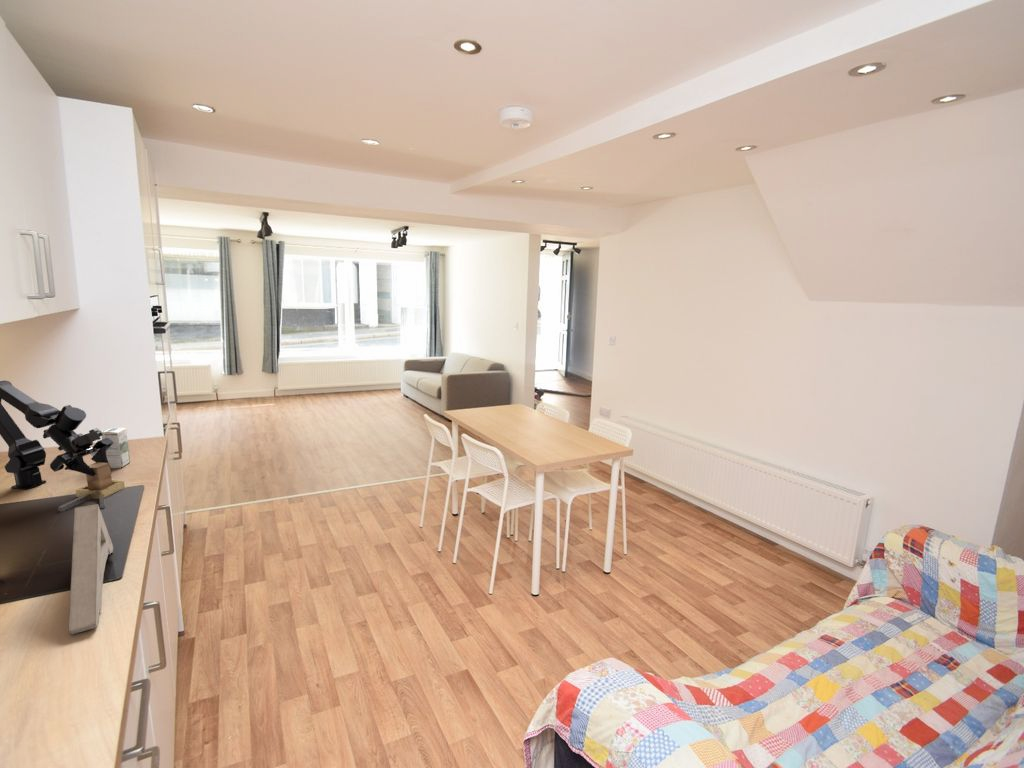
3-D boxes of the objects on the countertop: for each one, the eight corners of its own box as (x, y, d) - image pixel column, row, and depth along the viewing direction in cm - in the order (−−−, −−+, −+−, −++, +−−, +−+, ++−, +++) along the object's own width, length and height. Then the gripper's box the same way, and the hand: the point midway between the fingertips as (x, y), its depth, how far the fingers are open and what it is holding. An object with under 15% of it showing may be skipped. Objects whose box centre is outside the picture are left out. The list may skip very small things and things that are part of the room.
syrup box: (114, 463, 194) (109, 427, 191) (131, 462, 195) (126, 427, 192) (105, 468, 189) (100, 432, 186) (122, 468, 190) (117, 432, 187)
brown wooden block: (89, 494, 168) (84, 467, 165) (101, 489, 172) (96, 462, 170) (101, 495, 167) (97, 467, 165) (113, 490, 172) (109, 463, 169)
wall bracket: (89, 665, 118) (92, 550, 134) (113, 658, 120) (113, 546, 136) (68, 631, 103) (74, 507, 119) (95, 624, 106) (98, 503, 122)
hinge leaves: (46, 510, 156) (45, 503, 155) (101, 485, 174) (100, 479, 174) (91, 514, 155) (90, 506, 154) (141, 488, 173) (140, 482, 173)
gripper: (52, 432, 156) (90, 467, 157) (105, 415, 174) (138, 447, 175) (33, 454, 158) (70, 488, 159) (87, 435, 176) (120, 467, 178)
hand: (102, 471), depth 168 cm, fingers open, 5 cm apart
